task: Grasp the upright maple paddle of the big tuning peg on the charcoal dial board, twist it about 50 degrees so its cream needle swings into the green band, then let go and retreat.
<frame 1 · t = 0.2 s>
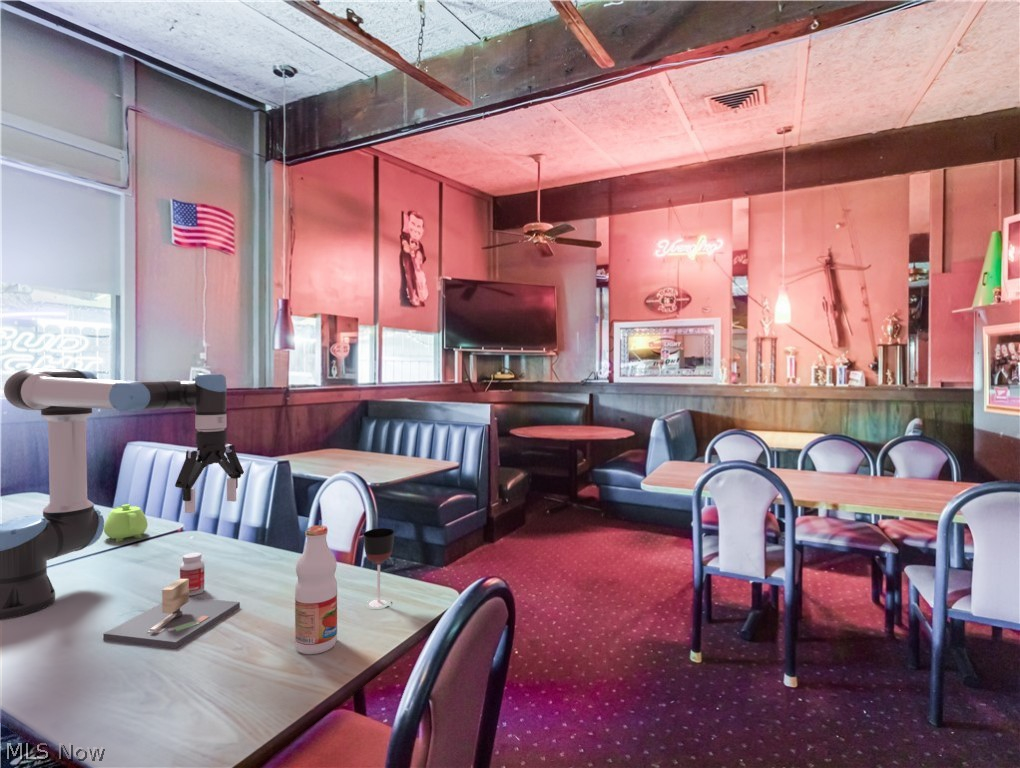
hand: (211, 506, 148), 27 cm above the table, fingers open, 13 cm apart
pill bottle: (192, 593, 156), on the table
fruit juice: (316, 645, 127), on the table
teapot: (126, 537, 206), on the table
peg: (168, 604, 135), point 6 cm above the table, hinge at 0.0°
dial board: (175, 622, 138), on the table
wineglass: (378, 604, 150), on the table
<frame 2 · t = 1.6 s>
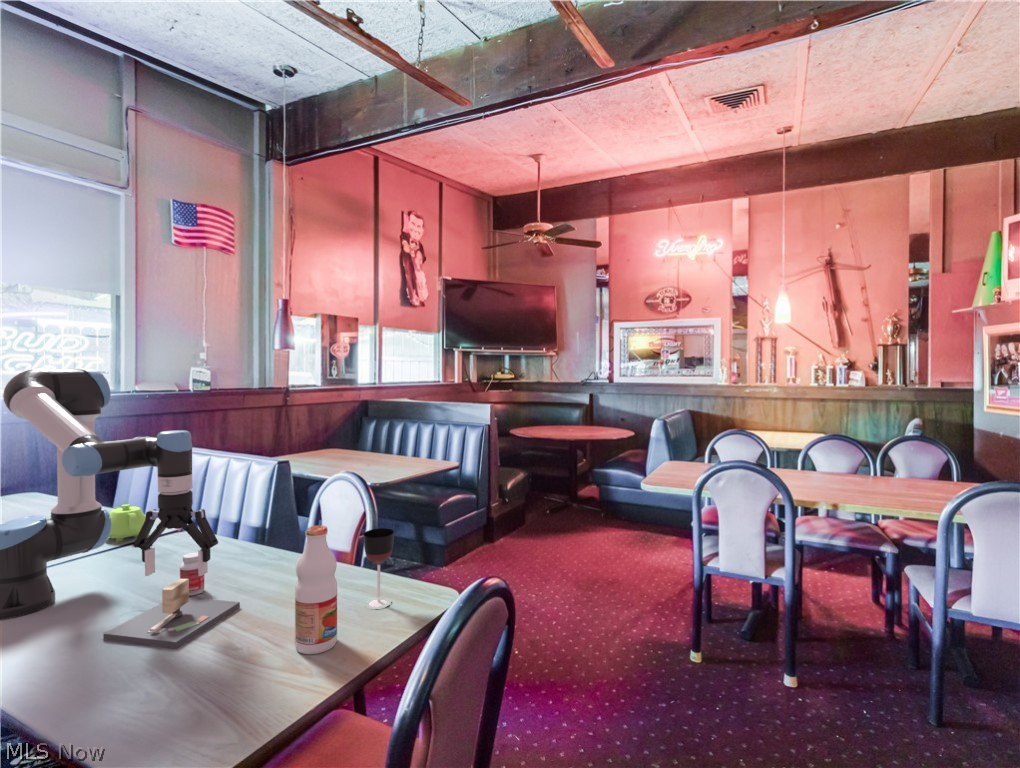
hand: (176, 574, 137), 13 cm above the table, fingers open, 13 cm apart
nothing on the table moved.
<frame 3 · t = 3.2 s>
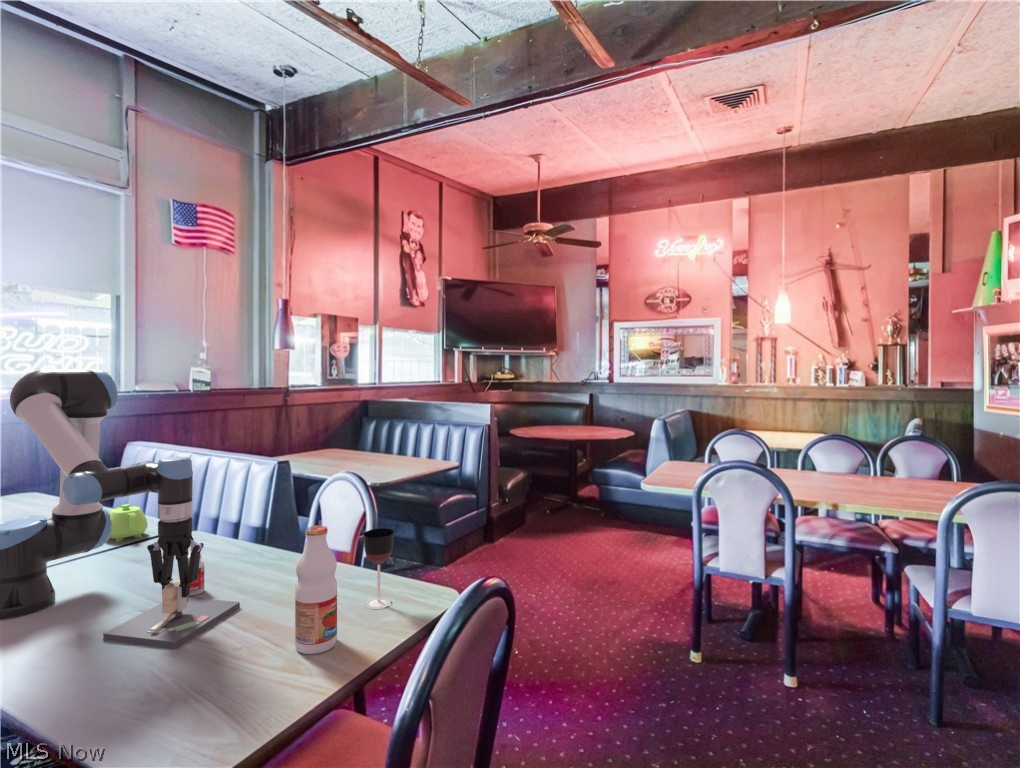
hand: (175, 609, 138), 4 cm above the table, fingers closed on peg, 2 cm apart
peg: (168, 604, 135), point 6 cm above the table, hinge at 0.0°, touching gripper
everything else where it was.
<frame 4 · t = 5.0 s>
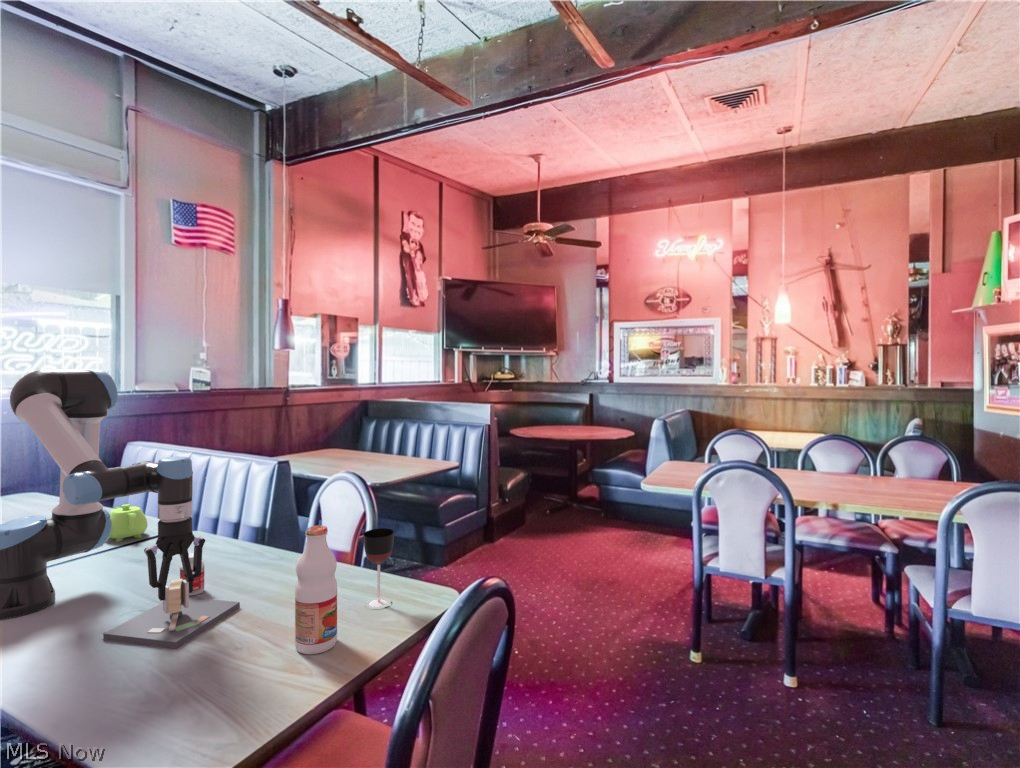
hand: (175, 608, 138), 4 cm above the table, fingers closed on peg, 4 cm apart
peg: (174, 604, 135), point 6 cm above the table, hinge at 27.1°, touching gripper
everything else where it was.
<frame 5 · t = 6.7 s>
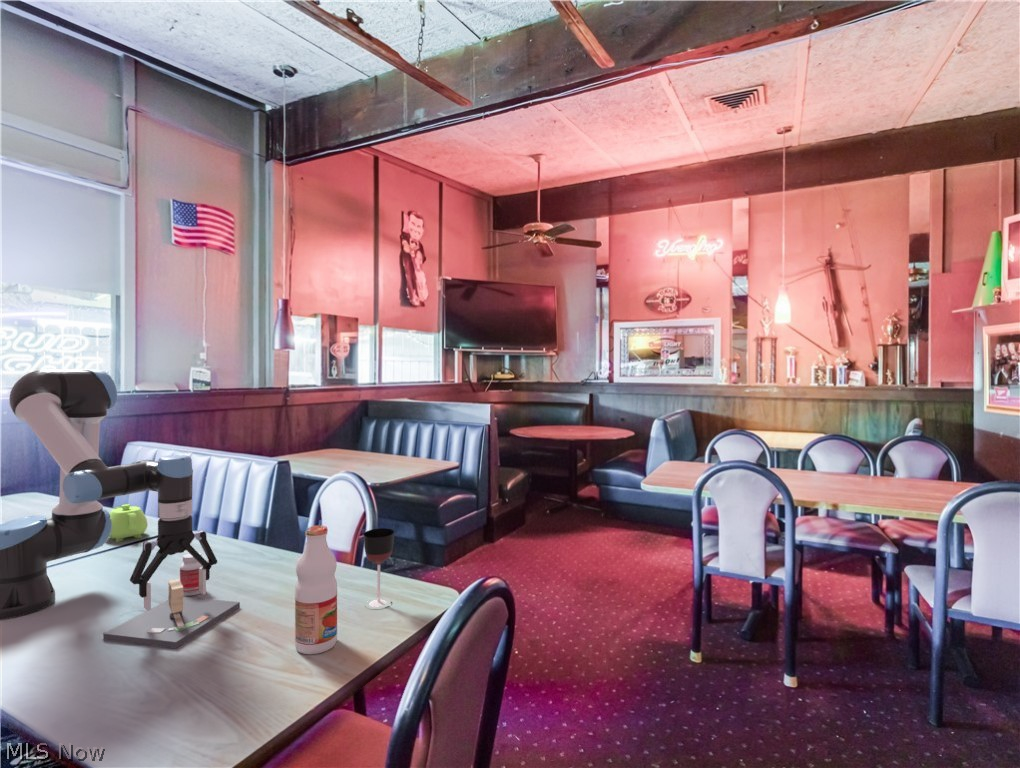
hand: (175, 600, 138), 6 cm above the table, fingers open, 12 cm apart
peg: (177, 603, 135), point 6 cm above the table, hinge at 39.2°
everything else where it was.
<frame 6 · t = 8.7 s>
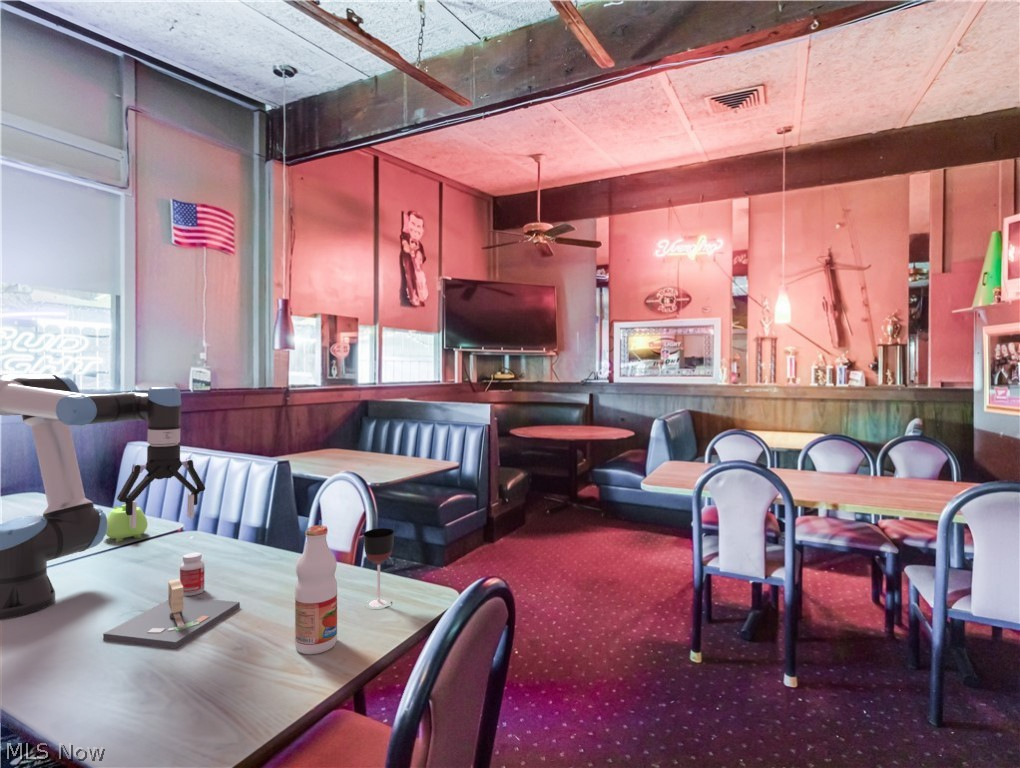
hand: (162, 521, 146), 23 cm above the table, fingers open, 13 cm apart
peg: (177, 603, 135), point 6 cm above the table, hinge at 39.7°
everything else where it was.
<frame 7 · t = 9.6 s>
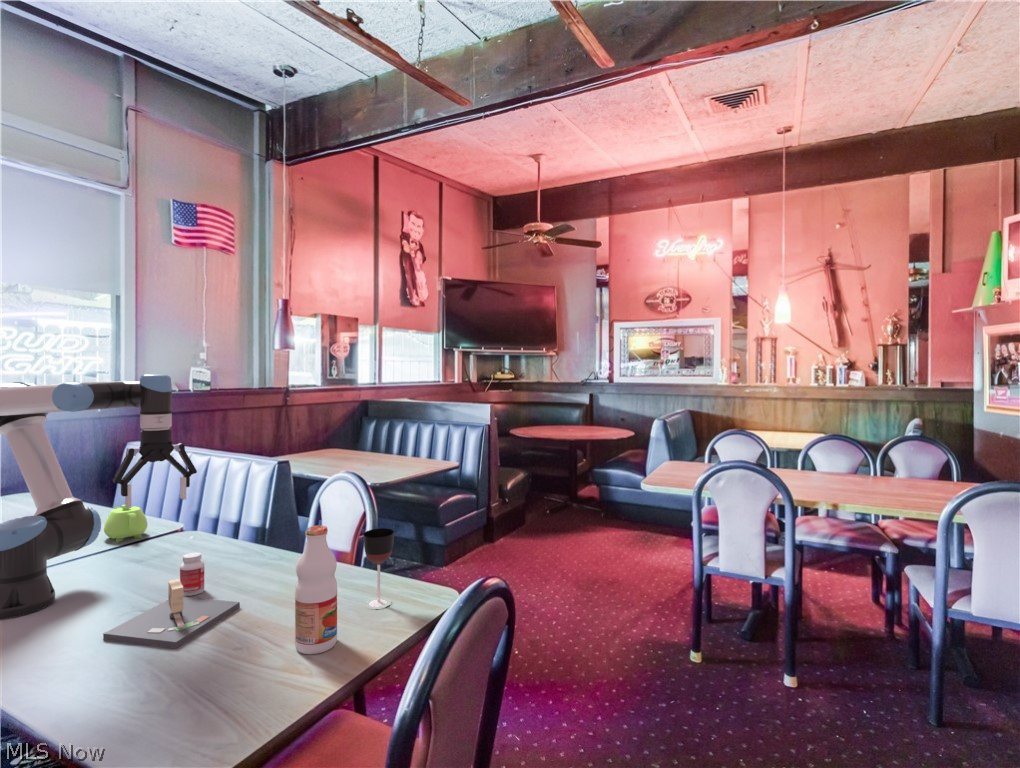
hand: (156, 503, 153), 27 cm above the table, fingers open, 13 cm apart
nothing on the table moved.
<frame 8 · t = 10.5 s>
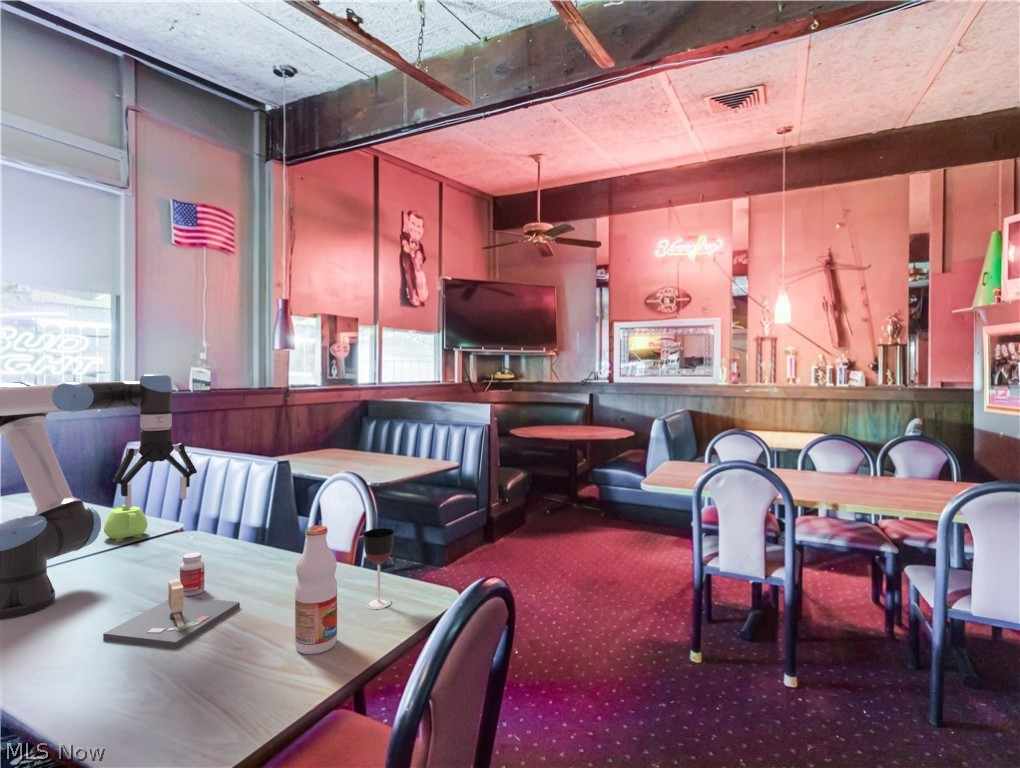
hand: (156, 503, 153), 27 cm above the table, fingers open, 13 cm apart
nothing on the table moved.
at the end: peg at +40° (first picture: +0°); the gripper is holding nothing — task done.
